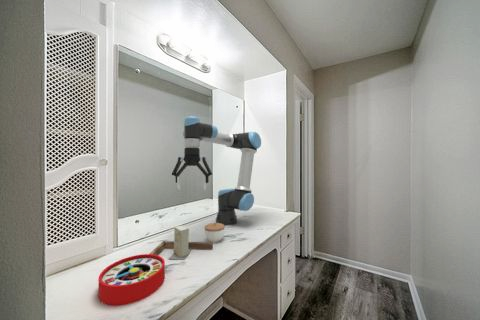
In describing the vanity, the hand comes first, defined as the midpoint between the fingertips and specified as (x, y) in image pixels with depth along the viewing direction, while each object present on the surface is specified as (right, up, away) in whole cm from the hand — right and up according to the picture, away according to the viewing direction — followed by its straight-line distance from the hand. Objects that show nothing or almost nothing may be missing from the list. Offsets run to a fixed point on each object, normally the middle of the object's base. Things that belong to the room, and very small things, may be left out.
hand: (192, 189), depth 96 cm
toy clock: (-13, -29, -30) cm, 44 cm away
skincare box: (-3, -29, -9) cm, 30 cm away
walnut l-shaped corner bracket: (-2, -29, -10) cm, 30 cm away
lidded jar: (+11, -29, +7) cm, 32 cm away
